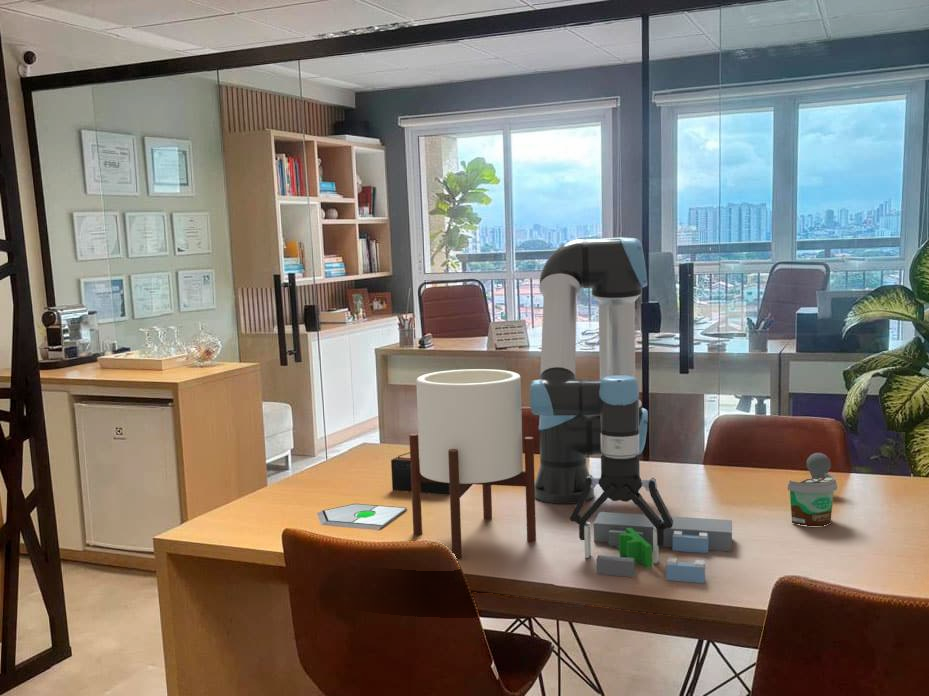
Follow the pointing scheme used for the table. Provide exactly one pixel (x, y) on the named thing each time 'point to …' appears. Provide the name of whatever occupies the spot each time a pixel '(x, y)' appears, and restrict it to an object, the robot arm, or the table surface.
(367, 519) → the grey pentagonal plate
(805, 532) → the table surface
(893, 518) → the table surface
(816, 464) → the light bulb
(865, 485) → the table surface
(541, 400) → the robot arm
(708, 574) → the table surface
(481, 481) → the plant pot with stand
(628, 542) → the pipe clamp
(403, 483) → the radio
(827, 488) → the food container
